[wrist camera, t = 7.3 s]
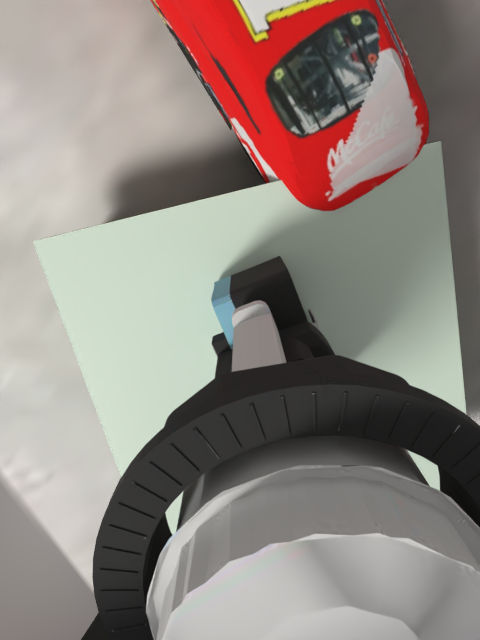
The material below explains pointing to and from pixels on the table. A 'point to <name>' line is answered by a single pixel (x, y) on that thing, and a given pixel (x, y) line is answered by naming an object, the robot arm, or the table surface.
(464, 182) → the table surface
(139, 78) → the table surface
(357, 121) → the race car
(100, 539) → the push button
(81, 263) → the stand
